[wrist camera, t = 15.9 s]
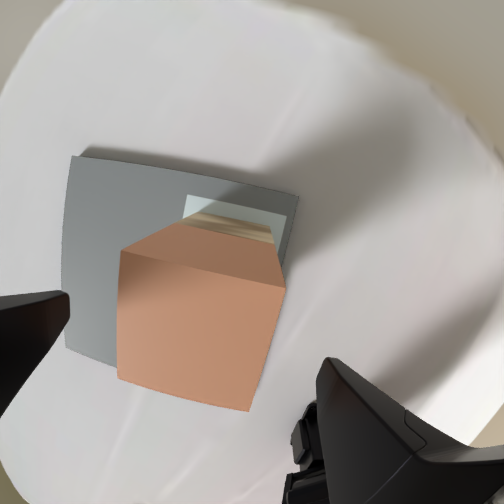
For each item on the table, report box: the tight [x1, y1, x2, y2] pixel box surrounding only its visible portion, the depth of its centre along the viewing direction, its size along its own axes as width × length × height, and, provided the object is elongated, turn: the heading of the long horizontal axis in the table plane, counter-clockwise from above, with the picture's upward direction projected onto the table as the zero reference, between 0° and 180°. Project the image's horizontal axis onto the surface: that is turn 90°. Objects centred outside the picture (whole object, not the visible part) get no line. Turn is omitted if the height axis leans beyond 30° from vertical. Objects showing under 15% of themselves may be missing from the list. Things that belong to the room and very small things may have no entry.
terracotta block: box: [117, 223, 286, 412], centre depth 12 cm, size 5×5×6 cm
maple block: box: [175, 212, 274, 245], centre depth 17 cm, size 5×5×6 cm
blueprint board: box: [61, 156, 299, 368], centre depth 22 cm, size 18×18×1 cm
